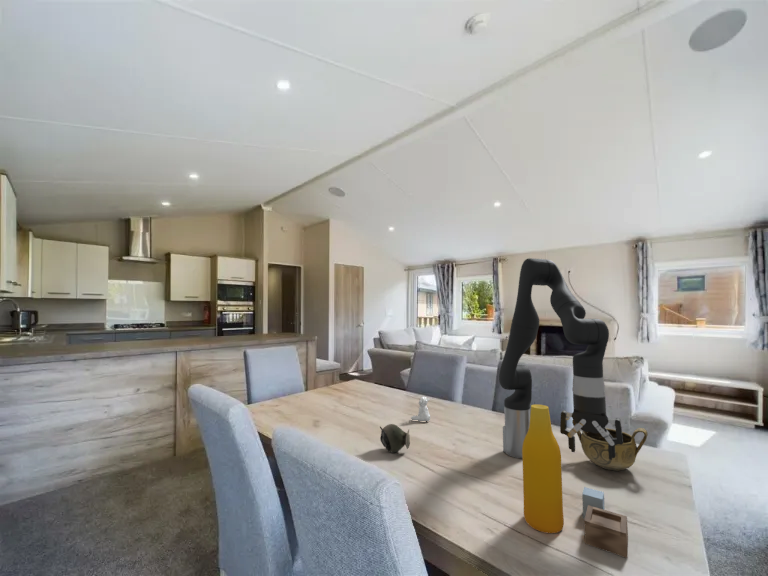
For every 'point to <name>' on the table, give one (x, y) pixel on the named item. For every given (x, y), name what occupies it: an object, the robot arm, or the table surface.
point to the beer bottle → (542, 474)
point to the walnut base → (606, 531)
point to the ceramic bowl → (598, 449)
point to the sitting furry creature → (422, 410)
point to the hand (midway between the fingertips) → (591, 455)
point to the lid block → (592, 499)
